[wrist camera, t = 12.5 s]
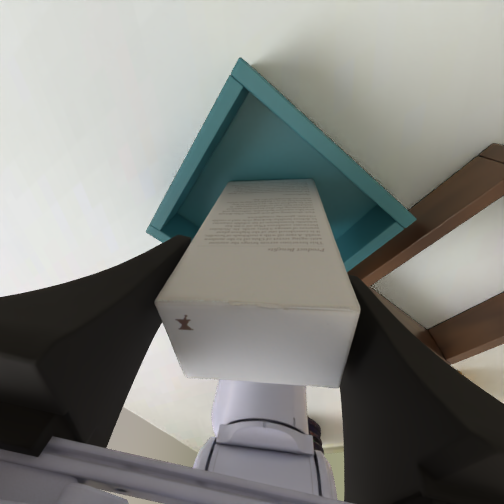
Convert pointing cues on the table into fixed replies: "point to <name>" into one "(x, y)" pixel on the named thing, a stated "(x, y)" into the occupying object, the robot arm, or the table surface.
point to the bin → (276, 169)
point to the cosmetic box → (262, 290)
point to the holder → (429, 231)
